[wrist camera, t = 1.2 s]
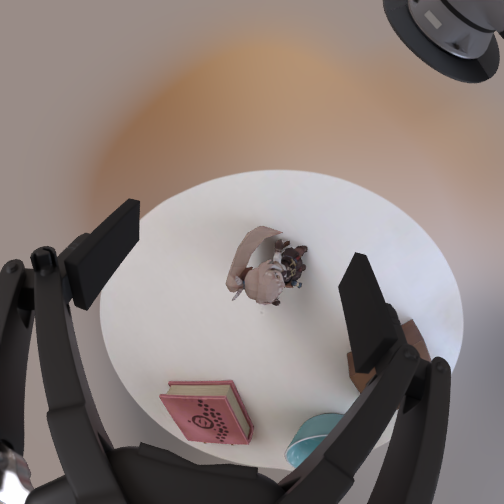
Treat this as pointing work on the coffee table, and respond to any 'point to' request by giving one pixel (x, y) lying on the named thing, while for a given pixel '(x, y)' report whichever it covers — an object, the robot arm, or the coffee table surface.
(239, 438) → the book
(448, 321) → the coffee table surface
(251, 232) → the toy
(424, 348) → the walnut block
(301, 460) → the bowl
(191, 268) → the coffee table surface
